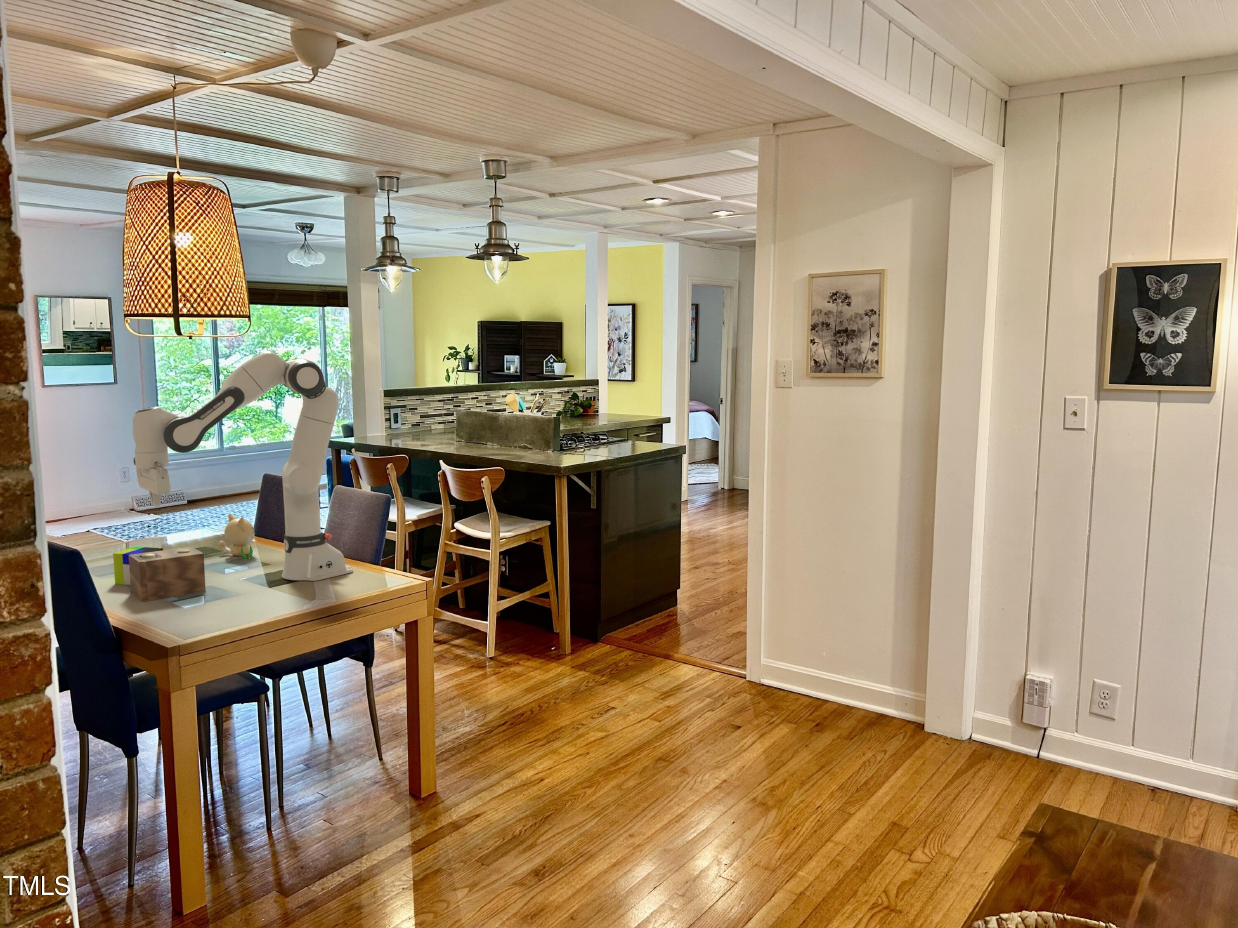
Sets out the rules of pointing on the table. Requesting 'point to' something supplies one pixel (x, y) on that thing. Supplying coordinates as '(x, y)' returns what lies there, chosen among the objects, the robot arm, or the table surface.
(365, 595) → the table surface
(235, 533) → the kitten
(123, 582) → the puzzle toy
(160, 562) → the walnut block
